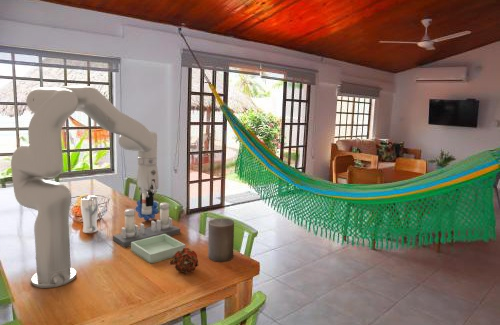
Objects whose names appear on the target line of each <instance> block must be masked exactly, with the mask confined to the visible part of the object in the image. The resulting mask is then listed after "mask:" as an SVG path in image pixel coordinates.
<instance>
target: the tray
mask: <svg viewBox="0 0 500 325" xmlns="http://www.w3.org/2000/svg"><path fill="white" fill-rule="evenodd" d="M183 248H186V244H185V243H183V242H181V241H179V240H178V239H176V238H174V237H172V236H168V235H166V234H162V235H158V236H154V237H150V238H146V239H142V240H138V241H134V242H131V246H130V251H131V252H132V253H133V254H135V255H137V256H138V257H139V258H141V259H142V260H144V261H146V262H147V263H149V264H150V265H152V264H155V263H158V262H161V261H162V262H163V261H165V260H168V259H173V258H172V257H174V254H175V253H176V252H177V251H182V250H183ZM174 258H175V257H174Z"/></svg>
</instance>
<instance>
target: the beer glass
mask: <svg viewBox="0 0 500 325" xmlns="http://www.w3.org/2000/svg"><path fill="white" fill-rule="evenodd" d="M98 198H99V197H98V196H96V195H84V196H81V198H80V212H81V216H82V222H83V225H82V226H83V227H82V233H84V234H94V233H96V232H98V231H99V229H98V223H97V222H98V215H99V199H98Z"/></svg>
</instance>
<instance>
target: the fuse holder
mask: <svg viewBox="0 0 500 325" xmlns="http://www.w3.org/2000/svg"><path fill="white" fill-rule="evenodd" d="M150 222H151V224H150V225H151V226H148V227H145V224H144V223H141V222H140V223H139V225H137V224H135V237H133V238H126V229H125V226H123V227H121V233H117V234H113V235H112V241H114V242H115V243H116V244H118V245H120V246H121V247H122V248H127V247H131V242H134V241H138V240H142V239H146V238H150V237H154V236H158V235H162V234H166V235H168V236H170V237H172V236H175V235H178V233H179V234H181V228H180V227H178V226H176V225H173V218H171V217H170V216H169V229H165V230H162V229H161V221H160V219H156V221H154V220H151V221H150ZM174 234H175V235H174Z"/></svg>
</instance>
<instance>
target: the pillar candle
mask: <svg viewBox="0 0 500 325" xmlns="http://www.w3.org/2000/svg"><path fill="white" fill-rule="evenodd" d="M207 224H208V234H207V235H208V237H207V238H208V243H207V248H208V249H207V252H208V253H207V257H208V258H209V260H210V261H213V262H219V263H220V262H228V261H230V260H233V259H234V245H235V244H234V243H235V239H234V238H235V221H234V220H232V219H231V218H223V217H221V218H220V217H219V218H212V219H210V220H209V221H208V223H207Z"/></svg>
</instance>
